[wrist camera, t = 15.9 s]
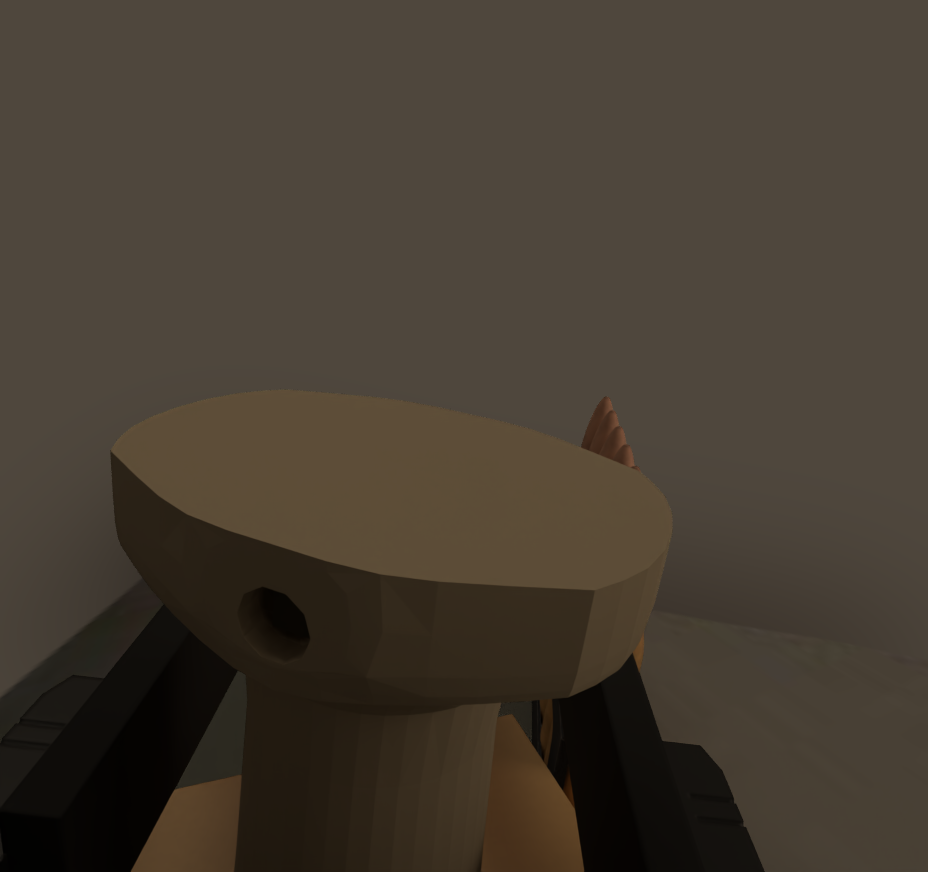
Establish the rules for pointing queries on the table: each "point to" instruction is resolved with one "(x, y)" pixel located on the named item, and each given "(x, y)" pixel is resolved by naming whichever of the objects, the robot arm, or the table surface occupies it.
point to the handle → (383, 602)
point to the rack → (506, 830)
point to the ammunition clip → (546, 713)
